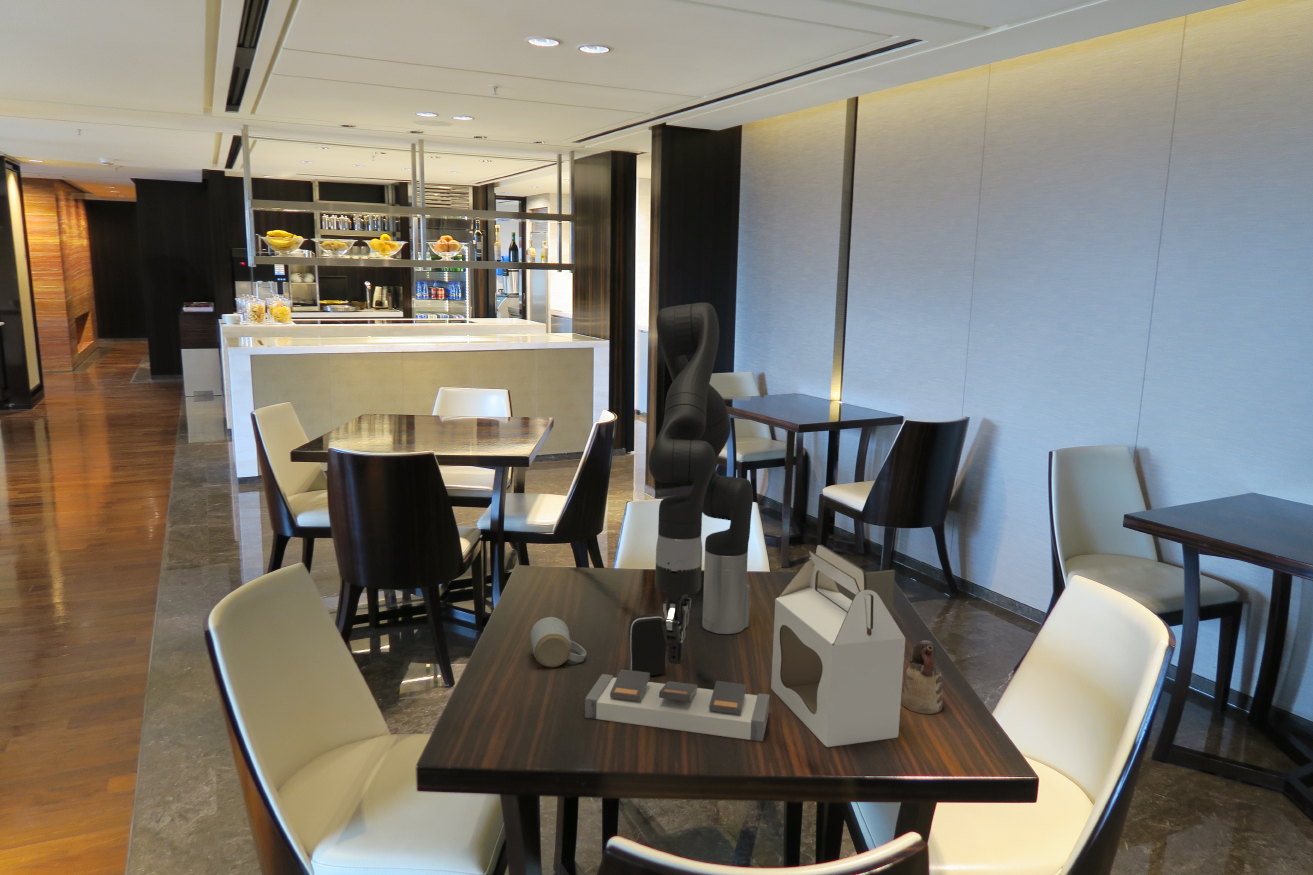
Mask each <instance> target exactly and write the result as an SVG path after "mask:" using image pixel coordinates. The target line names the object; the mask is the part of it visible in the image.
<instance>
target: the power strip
mask: <svg viewBox="0 0 1313 875" xmlns="http://www.w3.org/2000/svg"><path fill="white" fill-rule="evenodd" d="M616 679H617V677H614V674H605V673H602V674H601V675H600V676H599V678H598V680H597V681H596V682H595V684H594V685H593V687H592V688H591V690H590V691H589V692H588V693H587V695H586V696H585V698H584V718H585V719H586V718H587V719H595V720H602V721H609V722H616V723H622V724H631V725H637V726H638V725H639V726H646V727H653V728H661V729H668V730H675V731H682V732H689V733H697V734H705V735H712V736H719V737H720V736H721V737H725V738H726V737H727V738H734V739H742V740H750V741H754V742H755V741H757V742H764V737H765V734H766V728H767V723H768V721H769V720H768V718H769V714H770V700H771V699H770V698H771V695H770V694H768V693H767V694H766V693H759V692H758V693H757V695H756V694H749V693H745V697H744V702H743V707H742V711H741V715H740V714H732V713H724V712H717V711H709V705H710V701H711V698H712V694H713V691H714V689H709V688H701V687H697V691H696V693H695V694H694V696H693V697H692V699H691V700H690V702H689V701H681V700H674V699H666V698H659V692H660V690H661V689H662V688H663V687H664V686H665V684H666V683H659V682H653V681H648V683H647V686H646V688H645V691H644V693H643V696H642V698H641V701H632V700H624V699H617V698H610V692H611V690H612V688H613V685H614V683H615V681H616Z"/></svg>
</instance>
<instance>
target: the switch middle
mask: <svg viewBox="0 0 1313 875" xmlns="http://www.w3.org/2000/svg"><path fill="white" fill-rule="evenodd" d="M664 684H665V686H664V687H663V688H662V689H661V690H660V692H659V698H666V699H674V700H681V701H689V702H690V700H691V699H692V697H693V696H694V694H695V693H696V691H697V688H698V684H694V683H688V682H687V683H686V682H678V681H672V680H671V681H670V680H669V681H666V683H664Z"/></svg>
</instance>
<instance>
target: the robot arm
mask: <svg viewBox="0 0 1313 875" xmlns="http://www.w3.org/2000/svg"><path fill="white" fill-rule="evenodd" d="M655 324H656V334H657V337H658V341H659V344H660V349H661V351H662V354H663V355H662V356H663V357H664V360H665V363H666V366H667V369H668V371H669V375H670V377H671V381H672V383H671V384H670V386H669V388H668V391H667V393H666V397H665V403H664V404H665V405H664V417H663V423H662V426H661V429H660V431H659V433H658V435H657V437H656V439H655V441H654V443H653V445H652V448H651V450H650V453H649V456H648V470H649V472H650V475H651V476H652V477H653V479H654V480H656V481H657V482H658V483H663V484H664V483H665V484H683V485H684V484H686V485H691V488H690V489H688V491H687V492H686V493H682V494H677V495H672V496H667V497H664V498H663V499H661V501H659V502H660V503H659V505H658V526H657V527H658V528H657V530H658V532H657V541H656V546H655V547H656V548H655V573H654V574H655V575H654V587H655V589H656V590H657V591H658V592H660V593H663V594H665V595H666V600H664V601H663V605H662V608H663V609H662V611H663V613H664V618H663V617H662V618H663V619H662V621H661V624H662V629H663V634H664V639H665V642H667V643H668V648H667V649H668V653H667V655H668V656H667V657H668V658H667V661H668V663H669V664H675V665H680V664H681V663H682V661H683V660H684V640H685V638H686V633H687V631H688V628H689V627H688V625H689V624H690V623H689V620H690V613H691V608H692V602H693V600H692V597H689V595H694V594H696V593H698V592H699V591H700V590H701V588H702V565H703V541H702V540H703V539H702V528H703V527H702V526H703V524H702V523H703V515H704V516H707V517H708V518H712V519H717V520H718V519H719V520H724V521H730V523H729V528H727V529H725V530H720V531H715V532H713V533H710V534H708V535H707V536H706V537H705V542H704V569H703V570H704V571H703V574H704V575H703V594H702V595H703V596H702V599H703V600H702V624H701V626H702V627H703V629H705V630H706V631H708V632H711V633H714V634H720V635H732V634H738V633H741V632H742V631H744V629H746V628H749V624H750V601H751V598H750V597H751V585H750V584H748V583H747V579H748V560H749V558H748V556H749V554H748V553H749V541H750V535H751V525H752V524H751V522H752V520H751V519H752V511H753V503H754V502H753V501H754V489H753V485H752V482H750V480H749V479H747V478H743V477H736V476H728V475H720V474H719V473H718V472H717V470H716V461H717V459H718V457H719V455H720V454H721V452H722V451H723V449H724V447H725V445H726V444H727V442H728V440H729V438H730V435H731V424H730V419H729V413H728V408H727V404H726V401H725V399H724V397H723V396H722V395H721V394H720V393H719V391H717V389H715V387H713V386H712V385H711V384H710V382H711V378H712V376H713V371H714V366H715V362H716V357H717V353H718V349H719V343H720V325H719V317H718V314H717V312H716V309H715V307H714V306H713V305H712V304H711V303H708V302H695V303H689V304H679V305H674V306H667V307H664V308H663V307H662V308H661V309H659V311H658V312H657V315H656V321H655ZM691 355H692V358H691V359H690V360H688V358H687V357H686V356H691Z"/></svg>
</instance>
